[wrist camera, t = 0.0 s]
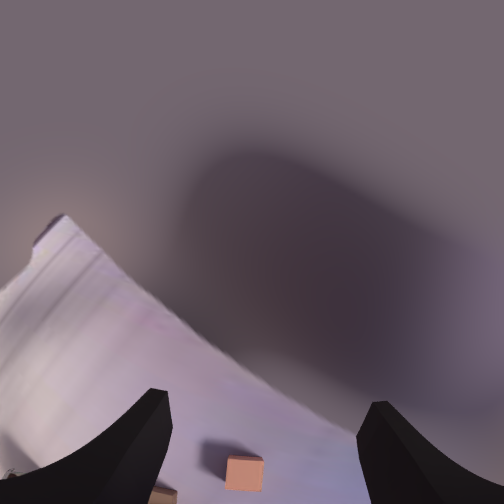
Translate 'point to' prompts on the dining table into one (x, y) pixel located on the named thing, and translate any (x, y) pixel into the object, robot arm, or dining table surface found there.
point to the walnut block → (162, 496)
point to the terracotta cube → (244, 473)
